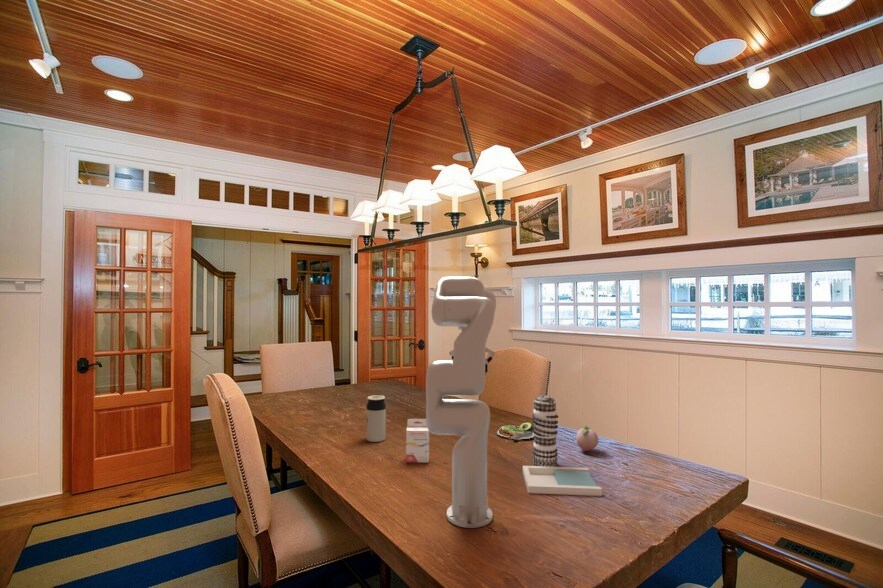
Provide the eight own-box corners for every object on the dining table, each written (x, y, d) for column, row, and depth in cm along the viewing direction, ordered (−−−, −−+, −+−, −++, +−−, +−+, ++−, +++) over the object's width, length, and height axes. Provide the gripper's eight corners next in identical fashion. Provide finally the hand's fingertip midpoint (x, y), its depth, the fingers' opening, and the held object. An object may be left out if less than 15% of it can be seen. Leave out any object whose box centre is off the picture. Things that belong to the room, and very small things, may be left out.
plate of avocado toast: (533, 445, 174) (532, 434, 174) (491, 440, 182) (491, 429, 182) (542, 432, 192) (542, 422, 192) (503, 428, 199) (503, 418, 199)
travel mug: (387, 436, 184) (387, 395, 185) (382, 442, 176) (383, 399, 177) (369, 436, 185) (369, 394, 186) (364, 442, 177) (364, 398, 178)
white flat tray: (602, 499, 126) (601, 488, 126) (528, 496, 128) (528, 486, 128) (587, 476, 142) (587, 467, 142) (522, 474, 144) (522, 465, 144)
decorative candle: (558, 464, 153) (558, 394, 154) (558, 474, 144) (558, 400, 145) (532, 461, 156) (532, 393, 156) (531, 471, 147) (531, 398, 147)
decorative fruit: (598, 457, 161) (598, 430, 161) (576, 454, 163) (575, 428, 164) (598, 448, 170) (597, 423, 170) (576, 446, 172) (576, 421, 172)
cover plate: (598, 492, 128) (598, 487, 128) (561, 491, 129) (561, 485, 129) (588, 476, 140) (587, 471, 140) (554, 475, 141) (554, 470, 141)
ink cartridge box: (405, 462, 154) (405, 422, 155) (406, 457, 159) (406, 418, 160) (429, 462, 155) (429, 422, 155) (429, 457, 160) (429, 418, 160)
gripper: (448, 329, 158) (448, 375, 158) (495, 329, 157) (495, 376, 157) (449, 328, 166) (449, 372, 166) (494, 328, 164) (494, 372, 164)
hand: (471, 374), depth 161 cm, fingers open, 9 cm apart
